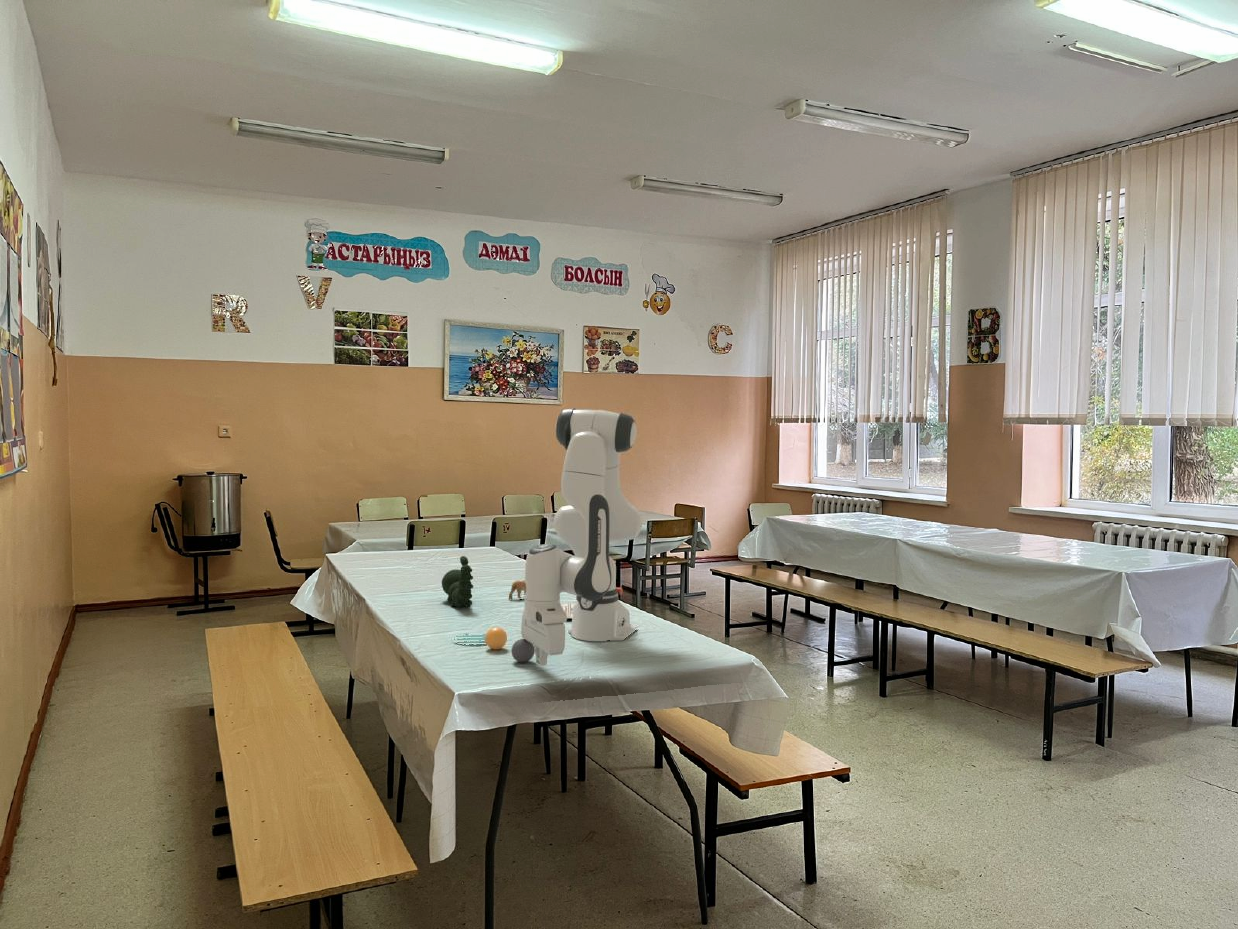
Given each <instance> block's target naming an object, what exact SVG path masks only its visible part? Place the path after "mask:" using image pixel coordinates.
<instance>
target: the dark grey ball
mask: <svg viewBox="0 0 1238 929" xmlns="http://www.w3.org/2000/svg"><path fill="white" fill-rule="evenodd" d="M534 655H535V651H534V645H533V644H532V643H530V642H528V641H527V640H525V639H524V638H520V639H518V640H516V641H514V643H513V644H512V646H511V657H513V660H515V661H516V662H518V663H528V662H529V661H531V660H532V658H533V657H534Z"/></svg>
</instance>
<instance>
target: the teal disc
mask: <svg viewBox="0 0 1238 929" xmlns="http://www.w3.org/2000/svg"><path fill="white" fill-rule="evenodd" d="M455 636H456V637H483V638H467V639H466V638H463V639H457V640H479V641H470V642H469V641H468V642H467V641H464V642H457V643H486V642H485V641H481V640H485V636H486V634H483V635H471V636H469V635H466V636H464V635H463V636H458V635H455ZM454 640H455V639H454ZM464 645H466V644H464ZM464 645H463V646H464ZM469 645H470V646H469V647H481V646H480V645H485V646H487V644H476V645H474V644H469Z"/></svg>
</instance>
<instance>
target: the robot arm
mask: <svg viewBox="0 0 1238 929" xmlns="http://www.w3.org/2000/svg"><path fill="white" fill-rule="evenodd" d="M554 429H555V430H554V431H555V437H556V440H557V442H559V444H560V445H561V446H563V447H564V450H566V453H565V456H564V461H563V467H562V472H561V481H560V482H561V483H560V489H561V490H560V491H561V496H562V497H563V498H564V500H565V502H566V503H567V504H568V505H564V506H560V508H558V510H556V513H555V515H554V519H553V528H554V531H555V533H556V535H557V536H558V537H559V539H560V540H563V541H564V542H565V543H566V544H567V545H568V546H569V547H570V549H571V550H572V553H573V554H574V555H573V554H570V553H568V552H565V551H563V550H562V549H560V548H559V547H558V545H556V544H553V543H544V544H537V545H535V546H533V547H531V548H530V549H529V550H528V552H527V555H526V559H525V568H524V580H525V583H526V594H525V597H524V611H523V612H522V617H521V628H520V630H521V631H520V634H521V637H522V638H521V639H525V640H527V641H528V642H530V643H532V644H533V645H534V651H535V652H534V655H535V663H537V664H538V665H539V666H547V665H548V656H558V655H559V656H560V655H563V653H564V650H565V646H566V644H565V643H566V625H565V623H567V620H568V618H567V614H566V613H565V611H564V610H563V608H562V606H561V604H562V603H561V593H567V594H570V595H573V596H576V597H575V598H576V599H575V600H576V601H577V602H576V603H574V604H575V605H574V607H573V616H572V620H571V627H569V628H567V629H568V631H567V632H568V633H569V634H571V636H572V637H573V638H575V639H576V640H580V641H587V642H607V640H610V641H624V639H625V638H626V637H627V638H628V635H629V634H630V633H632V632H633V631H634V630H635V629H636V628H637V629H638V626H637V625H634V624H632V623H630V621H631V620H630V617H631V616H630V611H629V609H628V608H626V606H625V605H623V603H622V602H621V601H619V599H620V598H619V595H622V594H623V587H617V586H616V583H617V582H616V579H617V566H616V562H615V560H614V559H613V558H612V557H611V556H610V542H617V543H619V542H625V541H631V540H635V539H636V538H637V537H638V536H639V535H640V533H641V530H642V526H643V520H642V516H641V513H640V511H639V510H638V509H637V508H636V507H635V506H634V505H632V504H631V503H630V502H629V501H628V500H627V499H626V497H625V496H624V494H623V491H622V489H621V481H620V480H621V478H620V474H621V473H620V468H621V466H620V465H621V453H624V452H627V451H629V450H630V449H632V447H633V445H634V443H635V441H636V439H637V432H638V431H637V426H636V421H635V419H634V418H633V416H631V415H629V414H627V413H623V412H620V413H617V412H614V411H608V410H604V409H576V408H574V407H573V408H566V409H563V410H562V411H561V412H560V413H559V415H558V417H557V419H556V423H555V428H554ZM632 634H633V633H632ZM627 638H626V639H627ZM626 639H625V640H626Z"/></svg>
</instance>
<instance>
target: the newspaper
mask: <svg viewBox="0 0 1238 929" xmlns="http://www.w3.org/2000/svg"><path fill="white" fill-rule="evenodd" d="M560 604H561V606H562V608H563V610H564V611H565V613H566V614H567V619H572V616H573V606H574V605H572V603H560Z"/></svg>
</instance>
